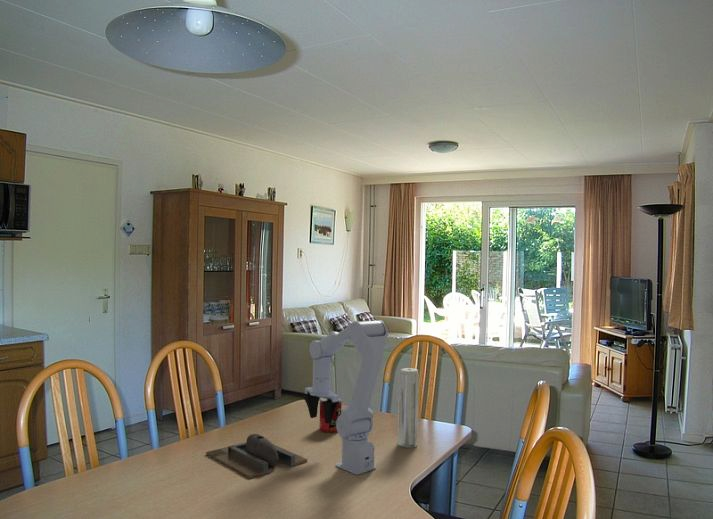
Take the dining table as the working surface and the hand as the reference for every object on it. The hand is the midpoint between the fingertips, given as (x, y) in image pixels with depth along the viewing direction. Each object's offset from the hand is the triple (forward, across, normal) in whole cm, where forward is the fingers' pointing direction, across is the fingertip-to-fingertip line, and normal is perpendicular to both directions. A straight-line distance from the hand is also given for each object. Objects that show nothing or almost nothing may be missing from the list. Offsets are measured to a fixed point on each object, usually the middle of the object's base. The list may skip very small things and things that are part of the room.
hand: (320, 420), depth 179 cm
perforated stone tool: (+10, -2, -20) cm, 22 cm away
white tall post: (+10, +15, +25) cm, 31 cm away
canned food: (+10, -14, +16) cm, 23 cm away
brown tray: (+9, -7, -20) cm, 23 cm away
